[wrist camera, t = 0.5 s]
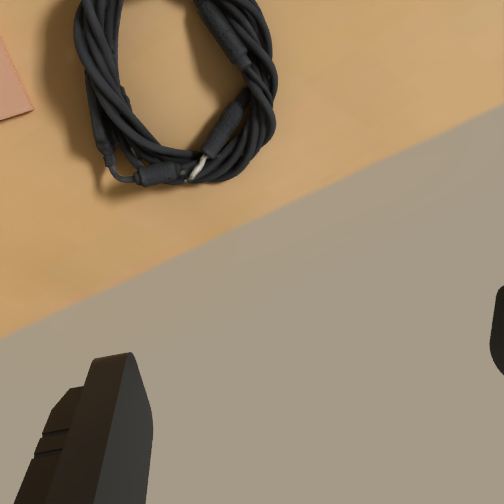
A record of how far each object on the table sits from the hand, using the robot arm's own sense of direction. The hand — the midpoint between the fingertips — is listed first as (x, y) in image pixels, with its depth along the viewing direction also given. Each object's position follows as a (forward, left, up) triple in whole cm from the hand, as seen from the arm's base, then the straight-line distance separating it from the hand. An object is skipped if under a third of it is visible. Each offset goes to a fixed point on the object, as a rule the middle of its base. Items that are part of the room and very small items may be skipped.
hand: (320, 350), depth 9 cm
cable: (-8, 0, -28) cm, 29 cm away
